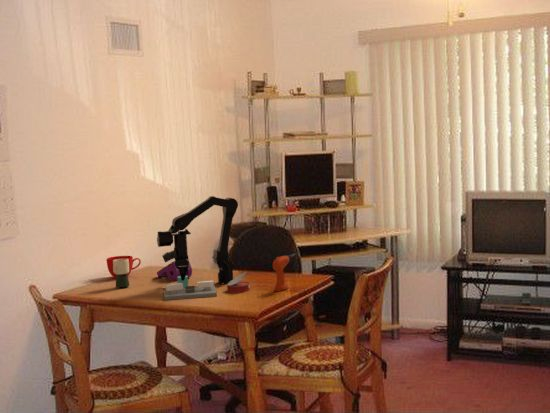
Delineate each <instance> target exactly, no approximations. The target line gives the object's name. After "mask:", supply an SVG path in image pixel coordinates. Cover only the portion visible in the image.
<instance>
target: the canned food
mask: <svg viewBox="0 0 550 413" xmlns="http://www.w3.org/2000/svg"><path fill="white" fill-rule="evenodd" d="M246 274H247V271H244V272H243V273H241V274H240V275H237V276H236V277H233V280H231V281H230V282H229V283H226V284H227V285H226V287H227V288H226V290H227V292H228V293H234V294H236V293H245V292H249V291H250V289H251V288H250V282H249V281H241V280H243V279H244V278H245V276H246Z"/></svg>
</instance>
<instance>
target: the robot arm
mask: <svg viewBox="0 0 550 413" xmlns="http://www.w3.org/2000/svg"><path fill="white" fill-rule="evenodd" d="M214 206H218V207H222V215H223V218H222V224H221V228H220V230H221V231H220V235H219V241H218V247H217V248H216V249H213V255H212V260H213V263H214V264H215V265H216V266H217V268H218V272H217V281H218V283H219V284H220V285H223V284H228V283H229V282H230V281H231V280H233V279H234V267H235V265H234V264H233V263H232V262H230V257H229V256H230V255H229V242H230V236H231V230H232V224H233V219H234V216H235V214H236V213H237V210H238V208H239V202H238V201H237V199H235V198H232V197H226V198H220V197H216V196H214V195H210V196H208V198H206V199H205V200H204V201H202V202H200V203H199V204H198V205H196V206H195V207H194V208H192V209H190V210H189V211H188V212H185V213H182V214H180V215H178V216H175V217H174V218H173V219H172V221H171V226H170V227H169V229H168V230H167V231H166V230H165V231H157V235H156V236H157V237H156V243H157V247H158V248H161V247H171V246H172V245H173V244H174V247H173V250H171V251H166V252H164V254H162V259H163V261H164V263H167V262H169V261H172V260H174V261H175V267H176V268H177V269H178V270H179V272H180V276H181V280H182V281H184V279H185V276H186V273H187V270H188V267H189V262H190V259H189V253H188V239H187V237H188V236H187V235H191V234H192V233H191V232H190V231H189V229H187V227H188V226H189V225H191V223H192V221H194V220H195V219H196V218H198V217H199V216H201V215H202V214H203V213H205V212H206V211H208V210H209V209H211V208H212V207H214ZM188 259H189V260H188Z"/></svg>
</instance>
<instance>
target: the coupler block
mask: <svg viewBox="0 0 550 413" xmlns="http://www.w3.org/2000/svg"><path fill="white" fill-rule="evenodd" d="M176 282H177V283H176V284H178V283H182V284H183V288H185V286H189V284H190V282H189V278H188V276H185V279H184V281H182V280H181V276H178V280H176Z"/></svg>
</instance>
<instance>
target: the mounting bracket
mask: <svg viewBox="0 0 550 413" xmlns="http://www.w3.org/2000/svg"><path fill="white" fill-rule="evenodd" d="M188 260H189V267H188V270H187V273H186V276H188V279H189V278H191V277H192V274H193V269H192V265H191V262H190V259H189V258H188ZM156 274H157V277H158V278H162V277H163V278H164V277H166V276H167V278H168V280H170V281H171V280H173V281H172V282H175V281H176V282H177V281H178V276H180V272H179V270H178V269H177V268H176V267H175V260H174V261H171V262H170V263H169V264H167V265H165V266H164V267H163V268H161V269H160V270H158V271H157V272H156Z"/></svg>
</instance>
